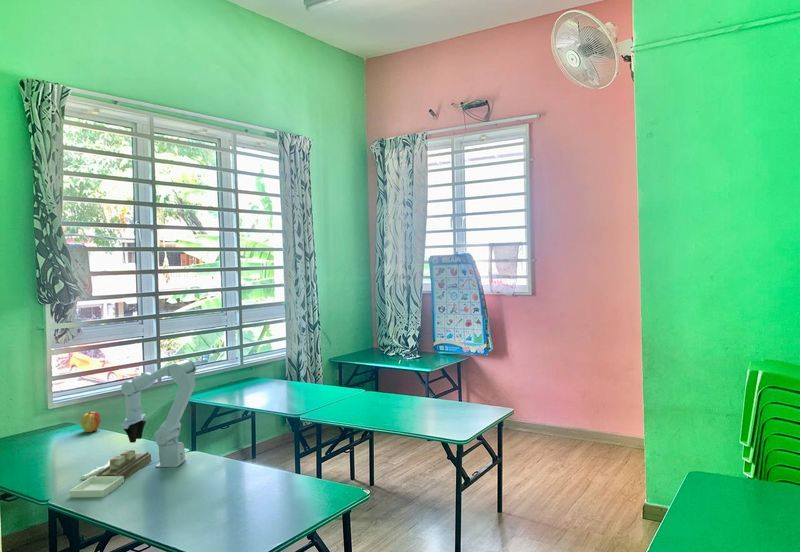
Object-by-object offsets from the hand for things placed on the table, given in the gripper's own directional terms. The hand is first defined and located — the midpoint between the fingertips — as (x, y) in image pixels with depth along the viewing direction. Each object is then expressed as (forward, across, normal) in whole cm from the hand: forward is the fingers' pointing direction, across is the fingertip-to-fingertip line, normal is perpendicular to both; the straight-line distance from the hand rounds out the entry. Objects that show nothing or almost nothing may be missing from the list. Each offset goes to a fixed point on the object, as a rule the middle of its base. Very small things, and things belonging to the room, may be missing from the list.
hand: (135, 440), depth 239 cm
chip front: (+6, +13, 0) cm, 14 cm away
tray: (+9, +27, 0) cm, 29 cm away
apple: (+10, -44, -50) cm, 67 cm away
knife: (+10, +3, -13) cm, 17 cm away
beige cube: (+6, +7, 0) cm, 9 cm away
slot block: (+9, +9, 0) cm, 13 cm away
